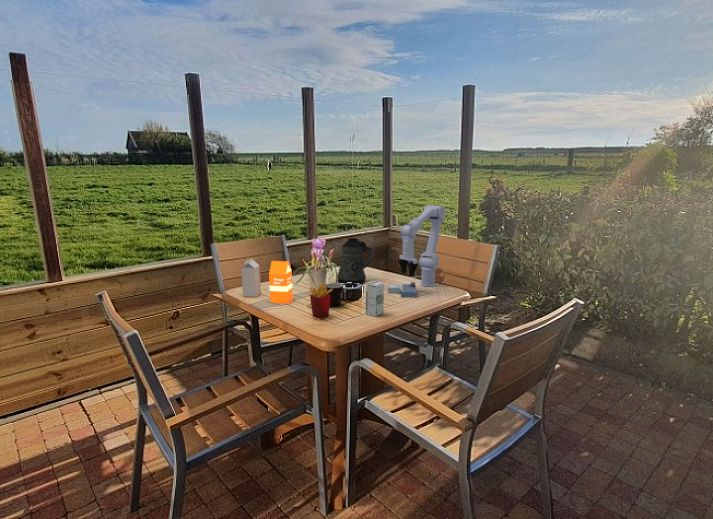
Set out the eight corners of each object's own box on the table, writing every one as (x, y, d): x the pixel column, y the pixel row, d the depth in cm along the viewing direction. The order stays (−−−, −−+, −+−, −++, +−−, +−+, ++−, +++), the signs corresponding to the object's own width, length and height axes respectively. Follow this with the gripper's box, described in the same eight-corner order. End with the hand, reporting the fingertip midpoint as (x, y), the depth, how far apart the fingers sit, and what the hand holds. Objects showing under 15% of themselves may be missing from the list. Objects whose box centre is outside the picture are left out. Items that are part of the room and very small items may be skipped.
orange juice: (287, 303, 203) (285, 263, 199) (270, 302, 205) (268, 262, 201) (292, 298, 211) (291, 259, 207) (276, 298, 212) (274, 259, 208)
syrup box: (373, 311, 192) (373, 280, 189) (383, 313, 188) (384, 282, 185) (365, 314, 188) (365, 282, 185) (376, 317, 184) (376, 284, 181)
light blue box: (388, 290, 225) (388, 284, 224) (400, 290, 224) (400, 284, 224) (387, 293, 219) (387, 287, 218) (400, 293, 218) (400, 287, 218)
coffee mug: (335, 309, 194) (335, 288, 192) (321, 306, 199) (321, 285, 197) (351, 303, 203) (351, 283, 201) (337, 300, 208) (337, 280, 206)
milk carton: (261, 293, 221) (259, 257, 217) (256, 297, 214) (254, 260, 210) (247, 293, 221) (245, 257, 218) (243, 296, 215) (240, 260, 211)
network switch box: (401, 289, 226) (401, 281, 225) (415, 290, 225) (415, 282, 224) (400, 297, 212) (401, 288, 211) (415, 297, 211) (416, 289, 210)
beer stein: (334, 279, 248) (333, 237, 243) (365, 276, 254) (365, 235, 249) (341, 286, 233) (340, 241, 228) (374, 283, 238) (374, 239, 233)
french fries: (309, 316, 185) (308, 283, 182) (324, 312, 191) (323, 280, 187) (322, 321, 179) (322, 287, 176) (337, 316, 184) (336, 283, 181)
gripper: (394, 247, 221) (394, 272, 223) (409, 251, 208) (408, 278, 210) (406, 246, 223) (405, 271, 226) (421, 250, 210) (420, 277, 213)
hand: (407, 274), depth 218 cm, fingers open, 7 cm apart
